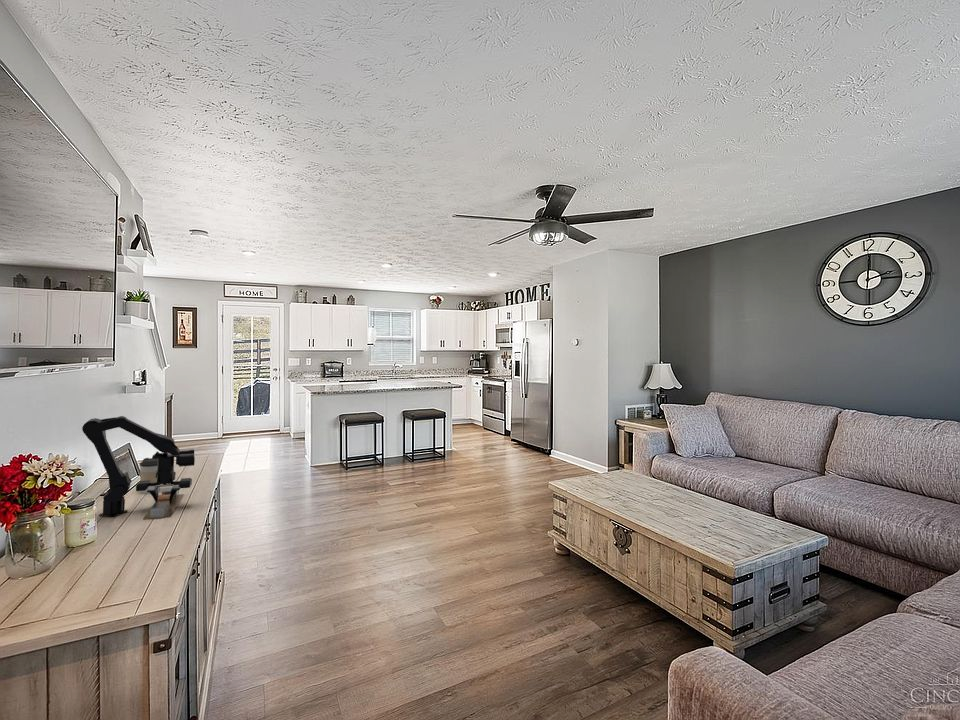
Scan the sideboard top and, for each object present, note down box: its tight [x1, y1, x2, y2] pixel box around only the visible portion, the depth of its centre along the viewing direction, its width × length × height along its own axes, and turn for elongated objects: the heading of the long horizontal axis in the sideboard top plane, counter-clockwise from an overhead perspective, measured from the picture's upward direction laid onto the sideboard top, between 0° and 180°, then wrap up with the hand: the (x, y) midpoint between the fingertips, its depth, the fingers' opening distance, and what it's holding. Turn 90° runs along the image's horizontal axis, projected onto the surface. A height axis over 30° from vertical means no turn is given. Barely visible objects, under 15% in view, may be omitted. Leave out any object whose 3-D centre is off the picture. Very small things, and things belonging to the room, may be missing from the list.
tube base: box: [143, 486, 185, 520], centre depth 191 cm, size 28×9×4 cm, turn 24°
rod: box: [158, 494, 171, 506], centre depth 187 cm, size 16×4×4 cm, turn 24°
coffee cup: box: [139, 457, 161, 494], centre depth 209 cm, size 9×9×15 cm
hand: (164, 504), depth 189 cm, fingers closed on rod, 4 cm apart
